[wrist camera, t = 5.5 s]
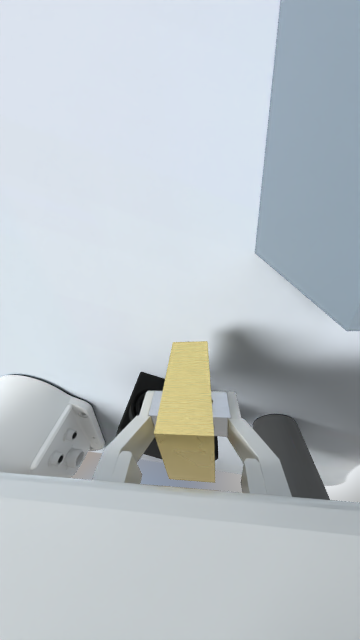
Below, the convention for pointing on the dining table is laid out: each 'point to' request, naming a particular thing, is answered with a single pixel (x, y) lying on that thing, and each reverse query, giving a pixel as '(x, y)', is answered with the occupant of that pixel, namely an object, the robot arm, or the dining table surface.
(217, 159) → the dining table surface
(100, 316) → the dining table surface
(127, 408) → the digital camera
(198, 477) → the block
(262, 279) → the dining table surface
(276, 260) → the box
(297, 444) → the bottle
